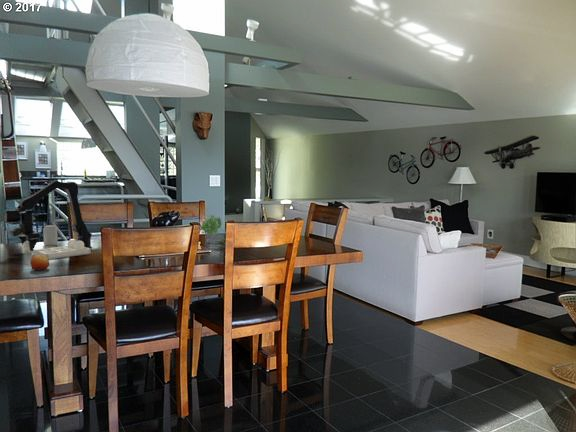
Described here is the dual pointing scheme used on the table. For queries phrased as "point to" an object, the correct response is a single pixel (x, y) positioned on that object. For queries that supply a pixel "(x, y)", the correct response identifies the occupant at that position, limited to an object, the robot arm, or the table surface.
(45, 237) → the can
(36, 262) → the fruit
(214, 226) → the plant cuttings
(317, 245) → the table surface
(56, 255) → the carton
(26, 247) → the egg
